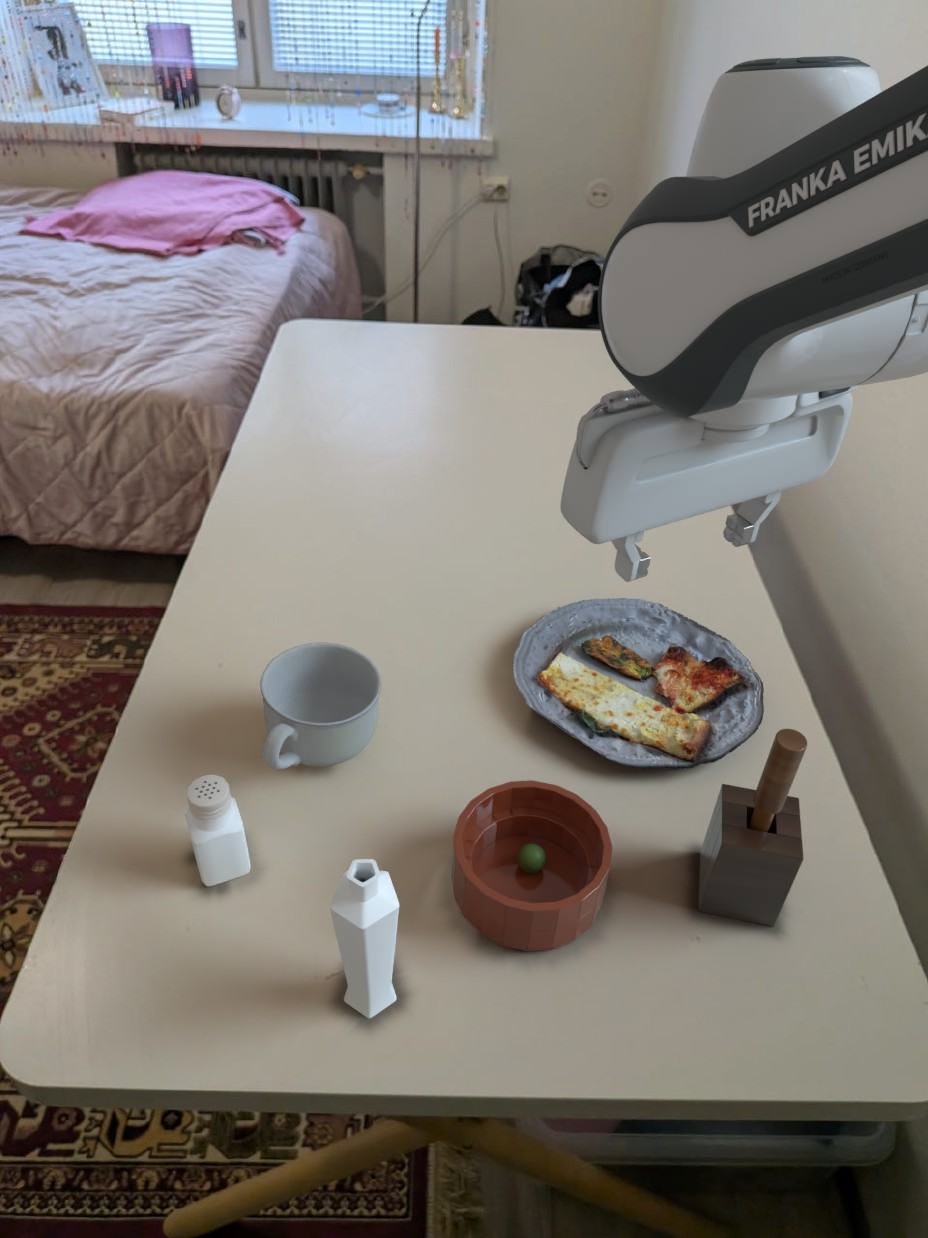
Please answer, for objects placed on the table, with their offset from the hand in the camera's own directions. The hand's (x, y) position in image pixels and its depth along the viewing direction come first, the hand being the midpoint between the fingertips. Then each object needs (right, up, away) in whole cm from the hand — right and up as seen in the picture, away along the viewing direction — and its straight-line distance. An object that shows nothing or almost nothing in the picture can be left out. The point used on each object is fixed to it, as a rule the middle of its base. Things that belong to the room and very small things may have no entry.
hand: (685, 557), depth 64 cm
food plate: (+2, -12, +32) cm, 34 cm away
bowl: (-10, -26, +13) cm, 31 cm away
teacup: (-29, -17, +24) cm, 41 cm away
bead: (-10, -24, +13) cm, 29 cm away
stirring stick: (+7, -27, +13) cm, 31 cm away
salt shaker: (-35, -25, +13) cm, 45 cm away
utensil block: (+7, -27, +13) cm, 31 cm away
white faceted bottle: (-22, -32, +5) cm, 40 cm away
